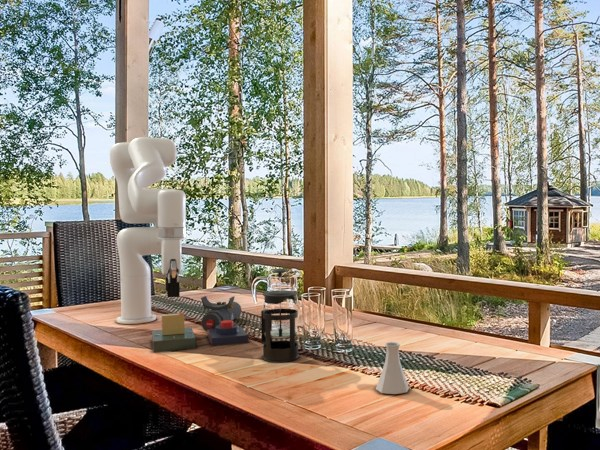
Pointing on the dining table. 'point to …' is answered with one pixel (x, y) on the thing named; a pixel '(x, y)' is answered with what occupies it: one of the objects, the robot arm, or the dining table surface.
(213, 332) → the button block
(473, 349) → the dining table surface
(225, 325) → the red button
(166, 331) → the tan flat block
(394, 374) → the flask
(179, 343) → the panel
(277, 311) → the french press
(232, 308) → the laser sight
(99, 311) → the dining table surface
